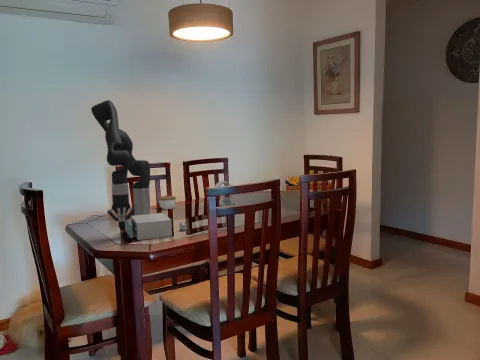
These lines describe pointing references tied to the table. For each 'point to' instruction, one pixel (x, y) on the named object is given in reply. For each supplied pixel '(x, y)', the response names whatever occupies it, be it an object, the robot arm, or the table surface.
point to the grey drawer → (130, 229)
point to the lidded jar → (167, 202)
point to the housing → (152, 226)
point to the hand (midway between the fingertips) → (122, 228)
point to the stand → (183, 226)
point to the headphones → (225, 201)
